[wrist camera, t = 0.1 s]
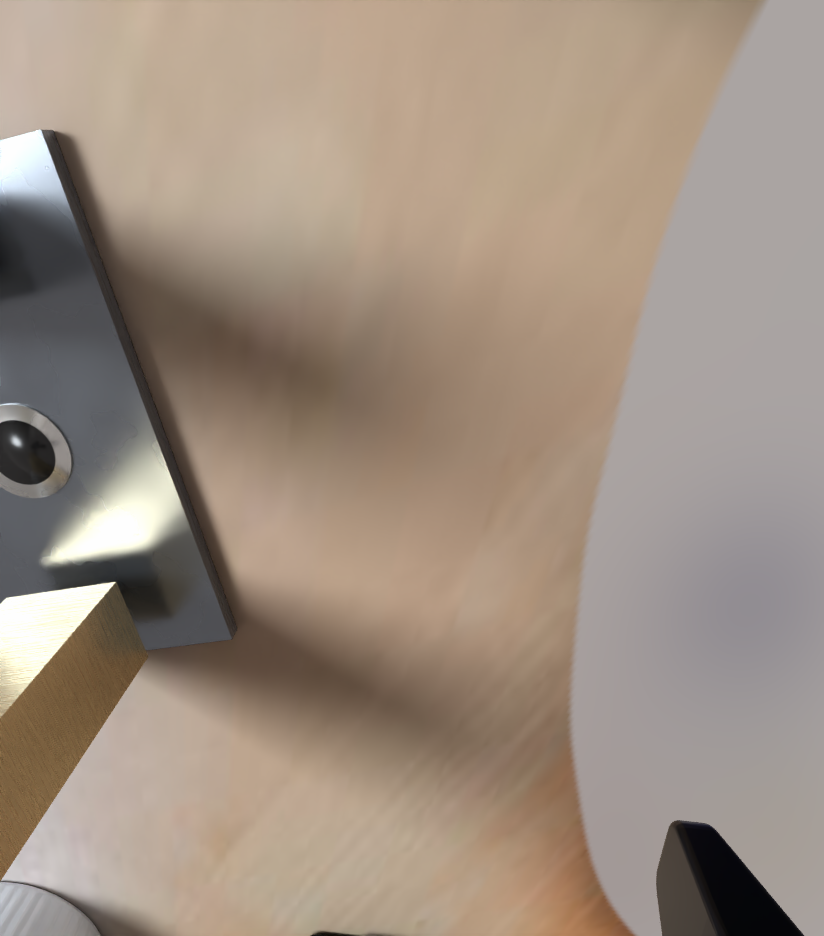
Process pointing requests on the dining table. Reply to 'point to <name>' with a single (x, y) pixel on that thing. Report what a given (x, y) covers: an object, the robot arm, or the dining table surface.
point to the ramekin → (40, 913)
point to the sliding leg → (56, 694)
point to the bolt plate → (85, 424)
